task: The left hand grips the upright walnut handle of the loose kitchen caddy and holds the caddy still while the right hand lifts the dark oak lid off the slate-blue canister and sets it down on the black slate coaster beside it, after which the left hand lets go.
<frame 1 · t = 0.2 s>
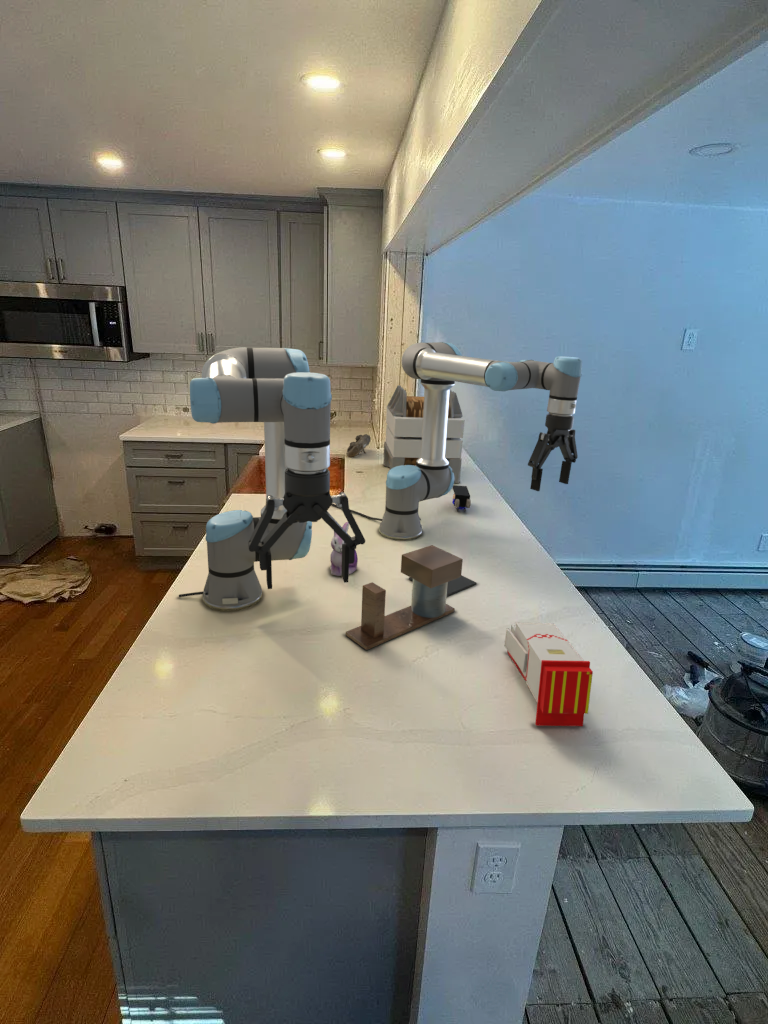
left hand: (307, 582, 102), 28 cm above the counter, fingers open, 13 cm apart
right hand: (549, 486, 166), 28 cm above the counter, fingers open, 13 cm apart
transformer: (419, 473, 275), on the counter
lid: (430, 574, 145), point 11 cm above the counter, touching caddy
figurine character: (460, 507, 229), on the counter
figurine: (343, 570, 170), on the counter
fossil: (358, 453, 307), on the counter
coaster: (442, 581, 166), on the counter
toy: (538, 683, 122), on the counter
caddy: (402, 622, 143), on the counter, touching lid
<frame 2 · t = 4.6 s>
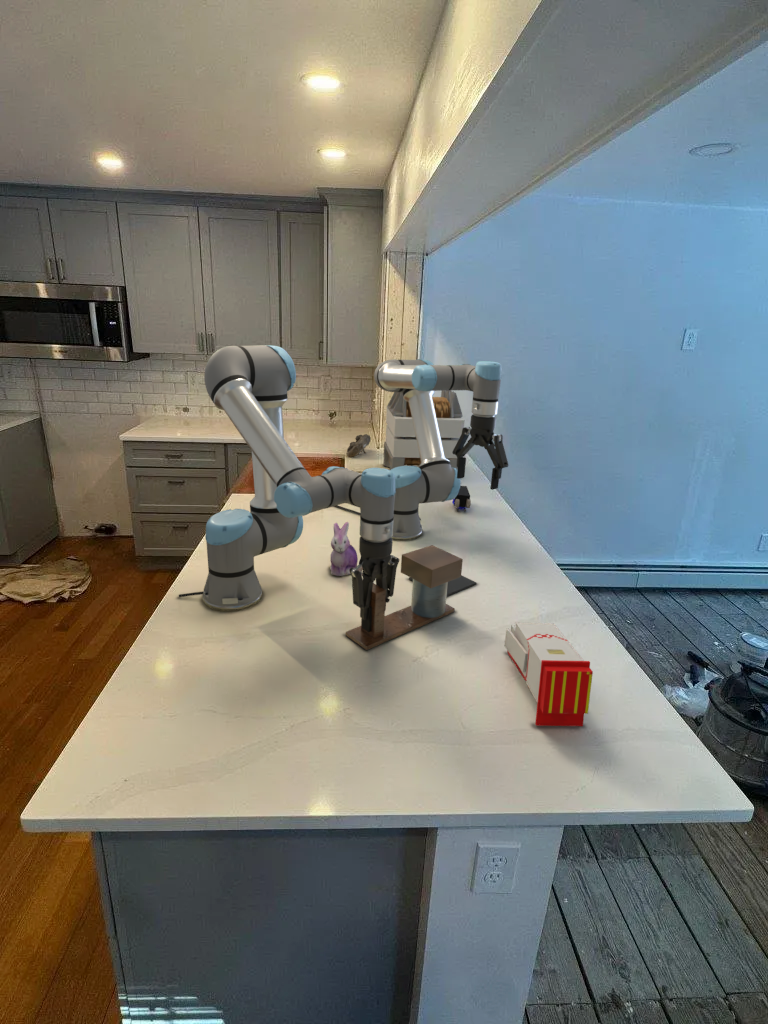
left hand: (372, 626, 136), 3 cm above the counter, fingers closed on caddy, 3 cm apart
right hand: (476, 483, 176), 25 cm above the counter, fingers open, 13 cm apart
caddy: (402, 622, 143), on the counter, touching left hand, lid
everything else where it was.
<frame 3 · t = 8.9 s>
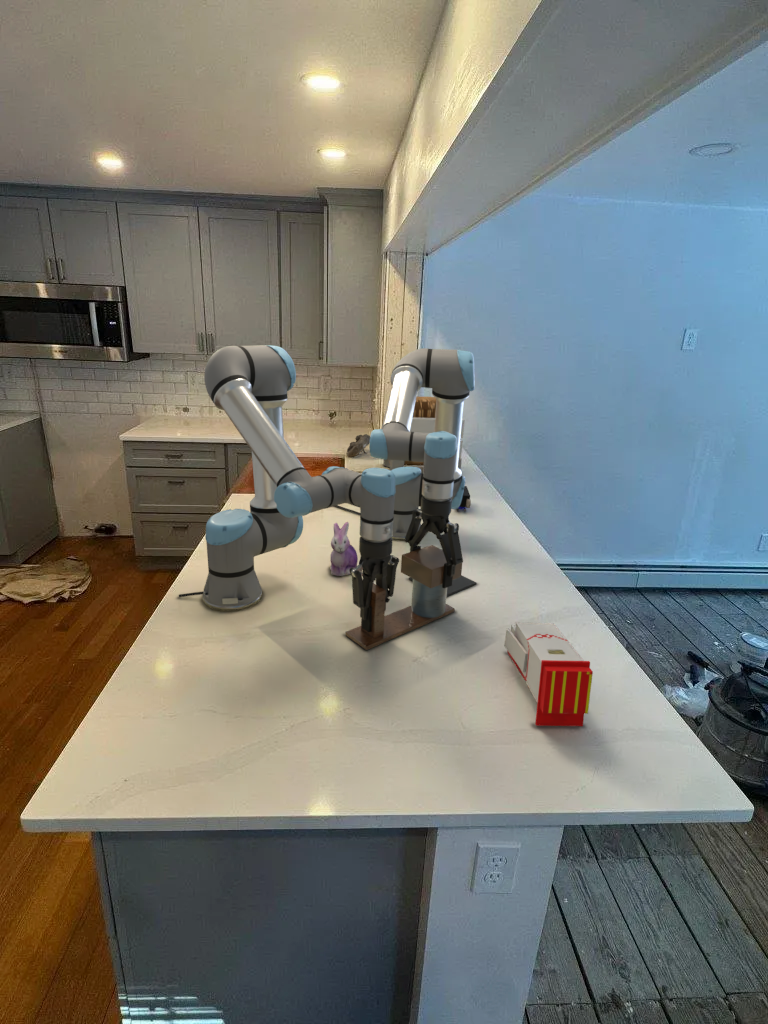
left hand: (372, 626, 136), 3 cm above the counter, fingers closed on caddy, 3 cm apart
right hand: (430, 577, 146), 10 cm above the counter, fingers closed on lid, 11 cm apart
lid: (430, 574, 145), point 11 cm above the counter, touching caddy, right hand
caddy: (402, 622, 143), on the counter, touching left hand, lid
everything else where it was.
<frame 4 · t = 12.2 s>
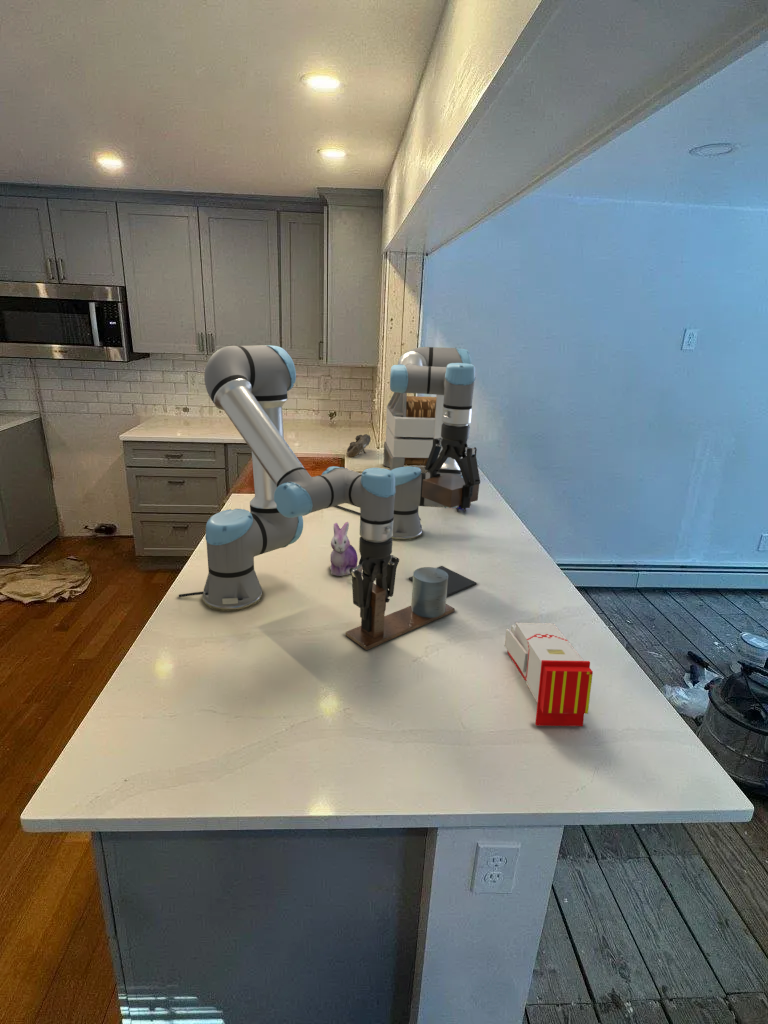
left hand: (372, 626, 136), 3 cm above the counter, fingers closed on caddy, 3 cm apart
right hand: (449, 501, 158), 25 cm above the counter, fingers closed on lid, 11 cm apart
lid: (449, 498, 157), point 26 cm above the counter, touching right hand
caddy: (402, 622, 143), on the counter, touching left hand
everything else where it was.
when the right hand's fingers open (3 cm above the counter, at t = 17.2 s): lid drops 3 cm, resting on coaster.
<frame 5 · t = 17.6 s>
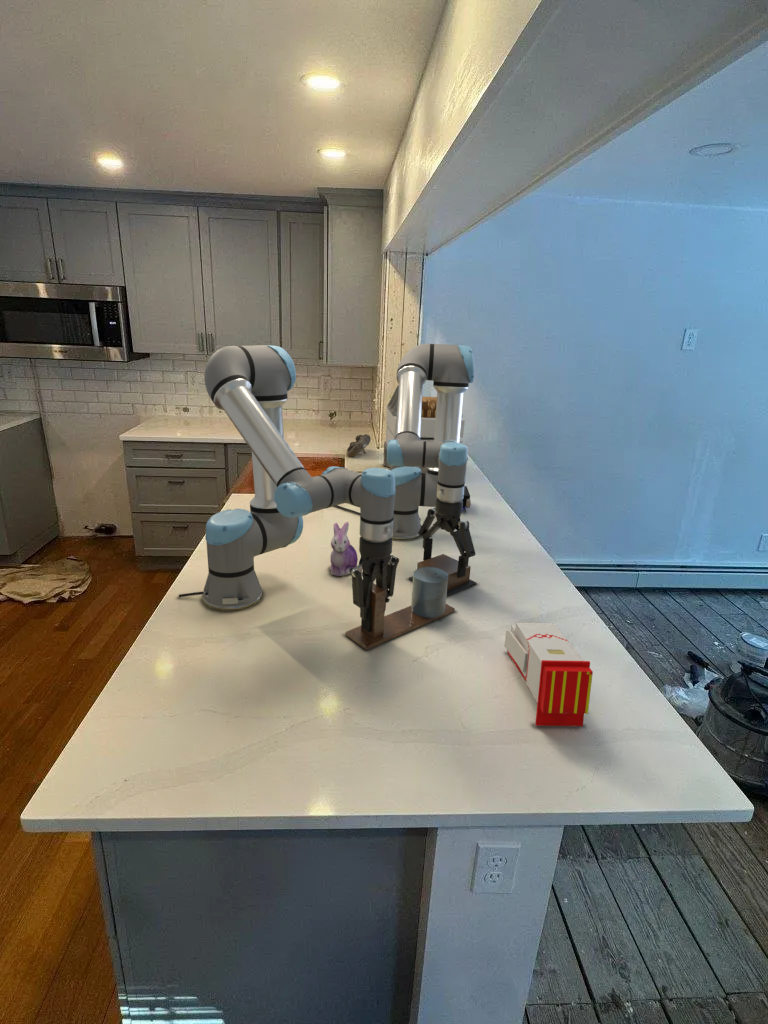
left hand: (372, 626, 136), 3 cm above the counter, fingers closed on caddy, 3 cm apart
right hand: (443, 567, 165), 4 cm above the counter, fingers open, 13 cm apart
lid: (442, 580, 166), point 1 cm above the counter, touching coaster
caddy: (402, 622, 143), on the counter, touching left hand
everything else where it was.
when the left hand's fingers open (3 cm above the counter, at t = 20.3 s): caddy stays where it is, on the counter.
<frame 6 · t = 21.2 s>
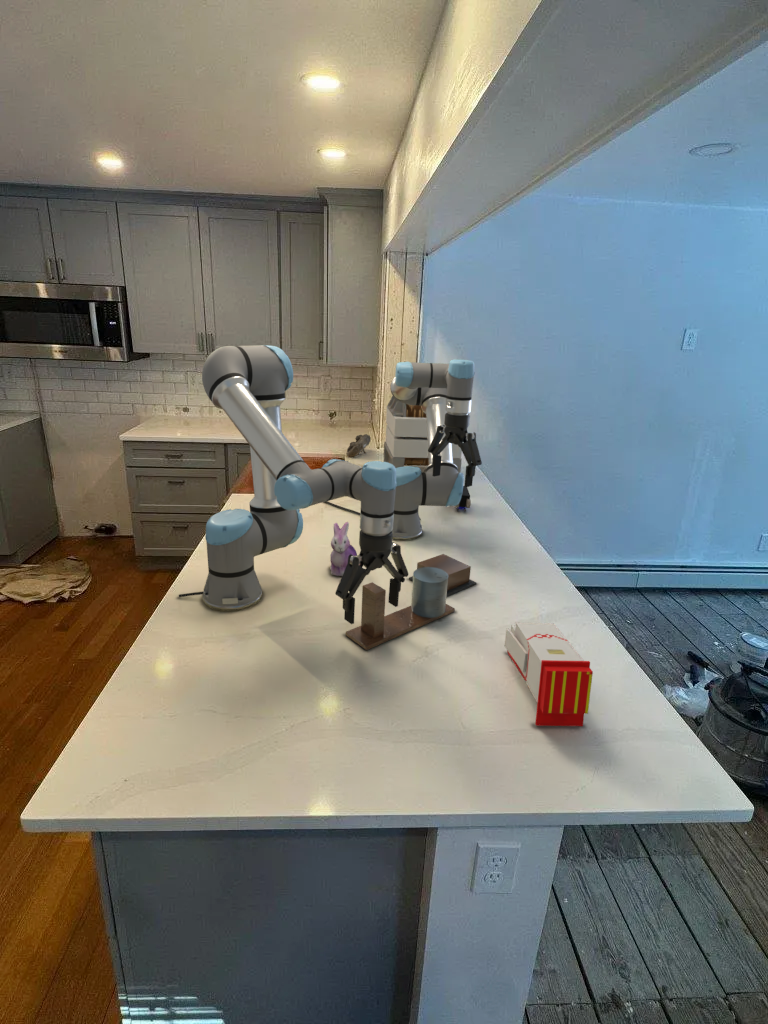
left hand: (371, 612, 135), 6 cm above the counter, fingers open, 13 cm apart
right hand: (451, 480, 177), 25 cm above the counter, fingers open, 13 cm apart
caddy: (402, 622, 143), on the counter
everything else where it was.
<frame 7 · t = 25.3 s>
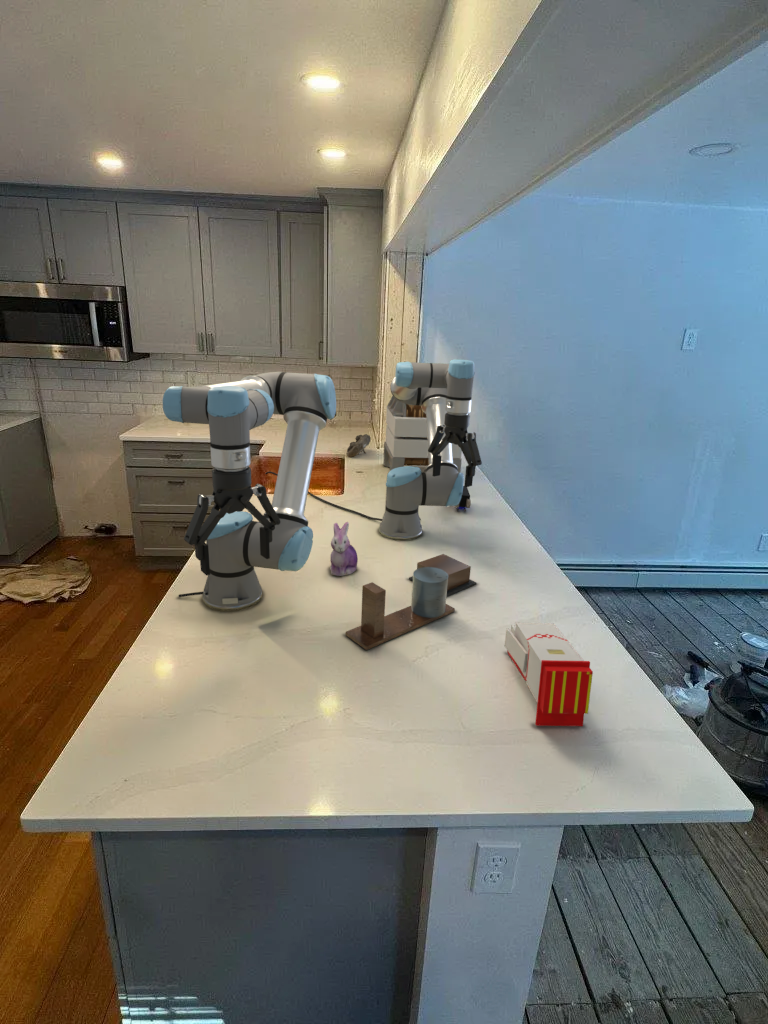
left hand: (236, 564, 119), 23 cm above the counter, fingers open, 13 cm apart
right hand: (451, 480, 177), 25 cm above the counter, fingers open, 13 cm apart
nothing on the counter moved.
at the end: lid inside the target area (0.0 cm from its centre), point 0.6 cm above the counter; caddy moved 0.0 cm from its start; the left hand is holding nothing; the right hand is holding nothing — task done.
